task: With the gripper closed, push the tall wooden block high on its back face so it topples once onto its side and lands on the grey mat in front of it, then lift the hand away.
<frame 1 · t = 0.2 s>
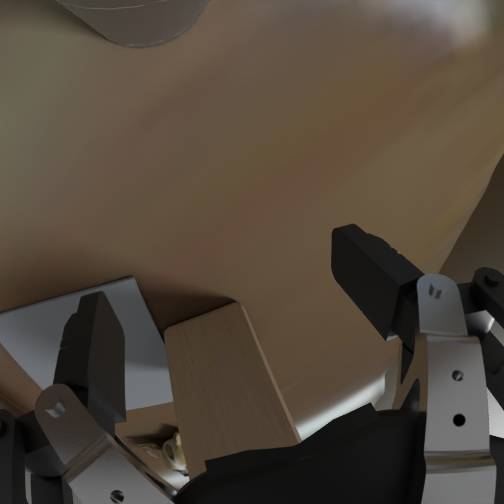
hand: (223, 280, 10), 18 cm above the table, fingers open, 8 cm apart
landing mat: (92, 366, 34), on the table
wooden block: (213, 336, 37), on the table
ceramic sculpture: (178, 439, 52), on the table
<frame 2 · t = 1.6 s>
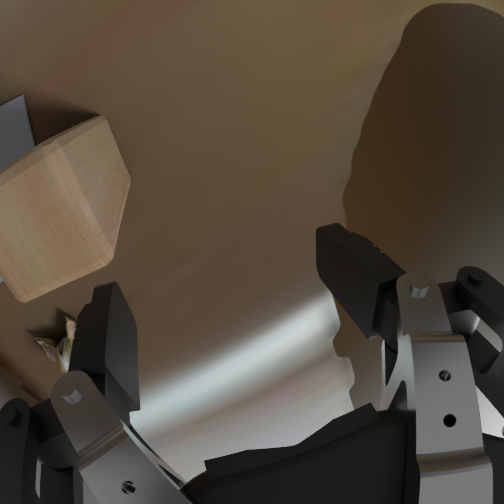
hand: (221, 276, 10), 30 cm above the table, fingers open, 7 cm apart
wooden block: (85, 163, 33), on the table
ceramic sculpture: (80, 343, 46), on the table
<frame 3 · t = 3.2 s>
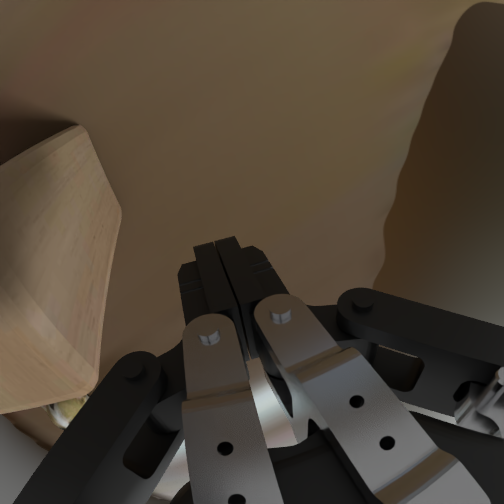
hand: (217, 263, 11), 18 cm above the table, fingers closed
wooden block: (61, 189, 24), on the table
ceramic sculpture: (74, 390, 37), on the table
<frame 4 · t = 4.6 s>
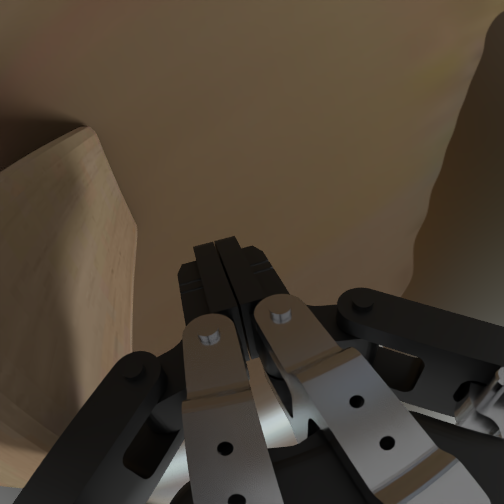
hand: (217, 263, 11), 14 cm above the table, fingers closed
wooden block: (65, 202, 21), on the table
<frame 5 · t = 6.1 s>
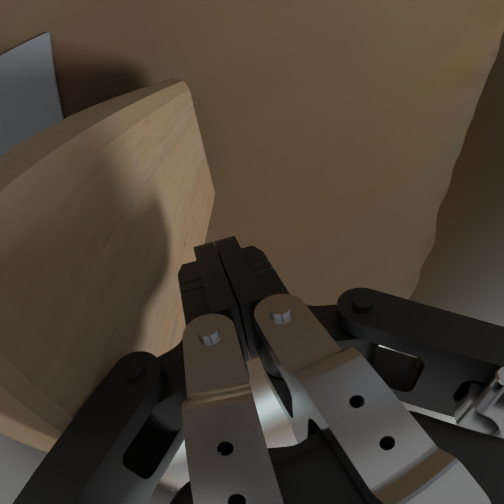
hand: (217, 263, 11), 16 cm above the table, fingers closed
wooden block: (142, 153, 21), point 1 cm above the table, touching hand
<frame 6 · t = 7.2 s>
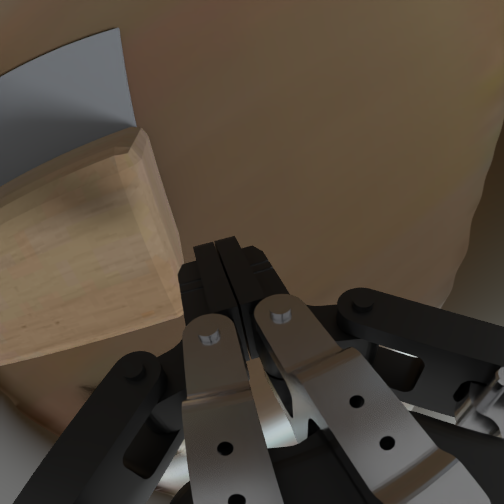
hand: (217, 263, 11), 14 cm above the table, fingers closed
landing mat: (29, 215, 20), on the table
wooden block: (167, 204, 18), point 5 cm above the table, touching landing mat
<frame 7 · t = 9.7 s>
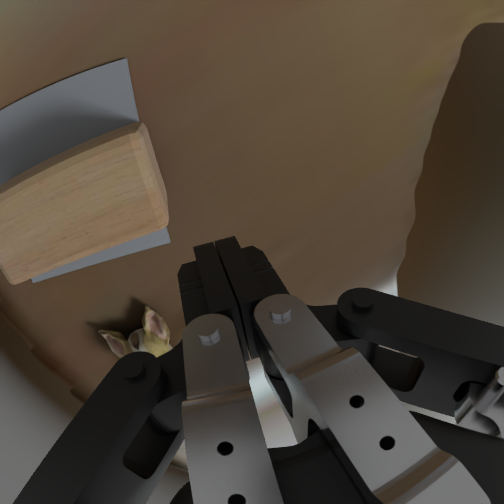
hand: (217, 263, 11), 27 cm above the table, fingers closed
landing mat: (64, 181, 31), on the table
wooden block: (157, 167, 29), point 5 cm above the table, touching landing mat
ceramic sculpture: (149, 337, 47), on the table
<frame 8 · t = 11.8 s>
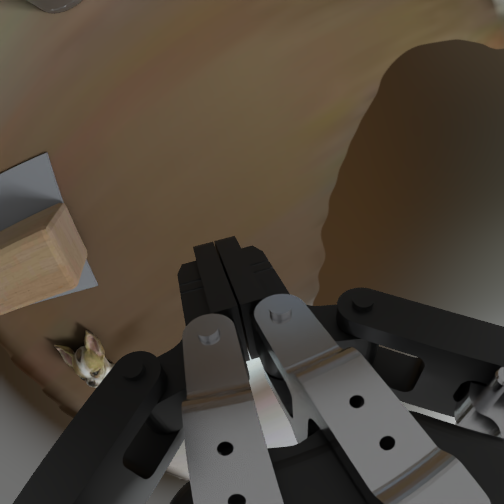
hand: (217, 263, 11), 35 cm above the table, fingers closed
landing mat: (19, 242, 39), on the table
wooden block: (71, 241, 38), point 5 cm above the table, touching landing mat
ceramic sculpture: (93, 351, 55), on the table
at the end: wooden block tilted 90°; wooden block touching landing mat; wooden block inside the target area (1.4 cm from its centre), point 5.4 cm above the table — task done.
